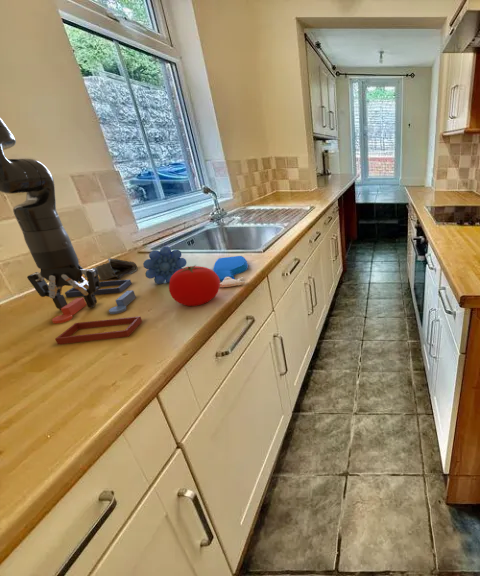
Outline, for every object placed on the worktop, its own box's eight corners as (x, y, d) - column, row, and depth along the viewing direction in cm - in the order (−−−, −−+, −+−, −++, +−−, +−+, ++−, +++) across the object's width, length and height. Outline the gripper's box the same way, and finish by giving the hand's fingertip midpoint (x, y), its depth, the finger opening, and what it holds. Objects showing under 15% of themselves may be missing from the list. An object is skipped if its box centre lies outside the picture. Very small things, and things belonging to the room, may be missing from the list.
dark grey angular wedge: (118, 270, 113) (86, 255, 102) (138, 263, 114) (107, 248, 102) (119, 294, 110) (86, 281, 99) (139, 287, 110) (108, 274, 99)
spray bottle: (213, 258, 115) (209, 283, 94) (246, 254, 118) (248, 278, 98) (215, 266, 116) (211, 292, 95) (247, 262, 120) (250, 286, 99)
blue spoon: (123, 314, 82) (119, 305, 81) (107, 316, 81) (103, 306, 80) (140, 298, 91) (137, 289, 90) (126, 299, 90) (123, 291, 89)
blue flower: (192, 275, 107) (183, 241, 102) (191, 283, 101) (181, 246, 97) (151, 281, 103) (140, 245, 98) (147, 289, 97) (135, 251, 92)
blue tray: (67, 299, 91) (64, 292, 90) (82, 289, 97) (79, 283, 97) (121, 294, 94) (118, 288, 93) (132, 285, 100) (130, 279, 99)
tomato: (178, 297, 92) (168, 263, 87) (224, 291, 96) (217, 257, 91) (170, 314, 82) (158, 277, 78) (221, 307, 86) (213, 270, 82)
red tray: (58, 346, 69) (54, 338, 68) (78, 330, 75) (75, 322, 75) (129, 338, 72) (126, 330, 71) (143, 323, 78) (140, 316, 77)
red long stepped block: (67, 324, 78) (63, 314, 77) (50, 326, 77) (45, 315, 76) (91, 306, 87) (87, 296, 86) (76, 307, 86) (72, 298, 85)
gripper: (94, 240, 82) (116, 299, 89) (27, 244, 79) (56, 304, 86) (76, 249, 76) (101, 311, 83) (2, 253, 73) (35, 317, 80)
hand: (78, 307), depth 84 cm, fingers open, 5 cm apart
